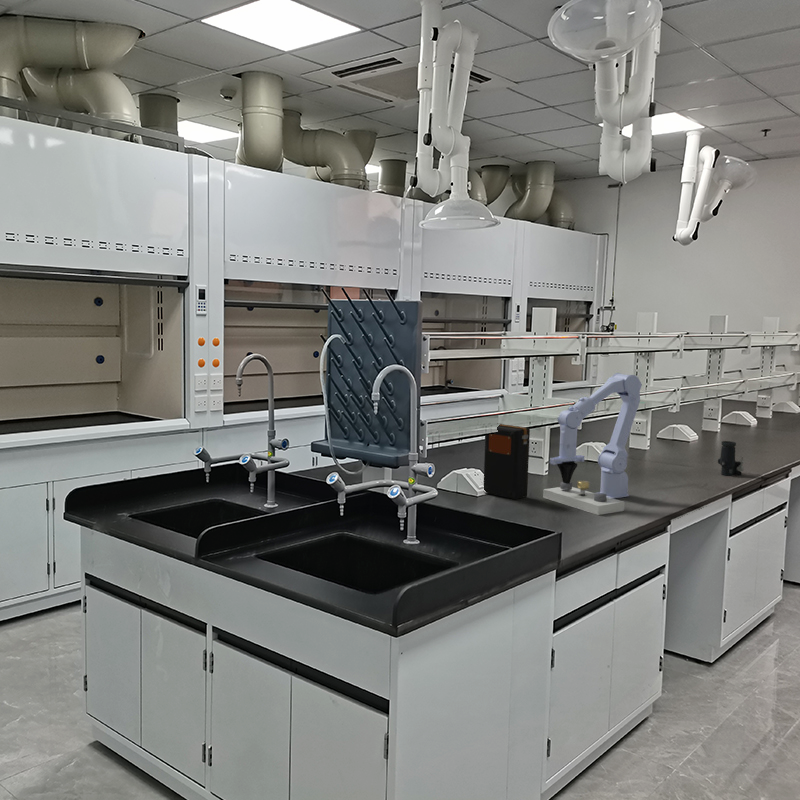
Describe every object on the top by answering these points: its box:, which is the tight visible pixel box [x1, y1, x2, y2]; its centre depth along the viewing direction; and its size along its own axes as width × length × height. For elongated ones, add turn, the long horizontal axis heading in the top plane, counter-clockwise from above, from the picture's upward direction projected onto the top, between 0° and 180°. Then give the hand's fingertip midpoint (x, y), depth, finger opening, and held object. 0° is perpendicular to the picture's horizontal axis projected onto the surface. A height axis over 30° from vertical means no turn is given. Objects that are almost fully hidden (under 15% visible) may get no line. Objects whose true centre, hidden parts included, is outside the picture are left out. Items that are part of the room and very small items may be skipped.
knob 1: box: [559, 481, 573, 491], centre depth 258 cm, size 4×4×5 cm
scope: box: [717, 440, 745, 477], centre depth 306 cm, size 8×14×10 cm
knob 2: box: [594, 492, 607, 502], centre depth 245 cm, size 4×4×5 cm
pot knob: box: [576, 480, 590, 496], centre depth 251 cm, size 4×4×5 cm
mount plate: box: [542, 486, 625, 516], centre depth 251 cm, size 12×26×3 cm, turn 31°
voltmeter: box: [483, 423, 531, 500], centre depth 261 cm, size 16×9×25 cm, turn 45°
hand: (566, 483), depth 258 cm, fingers closed, pressing on knob 1
